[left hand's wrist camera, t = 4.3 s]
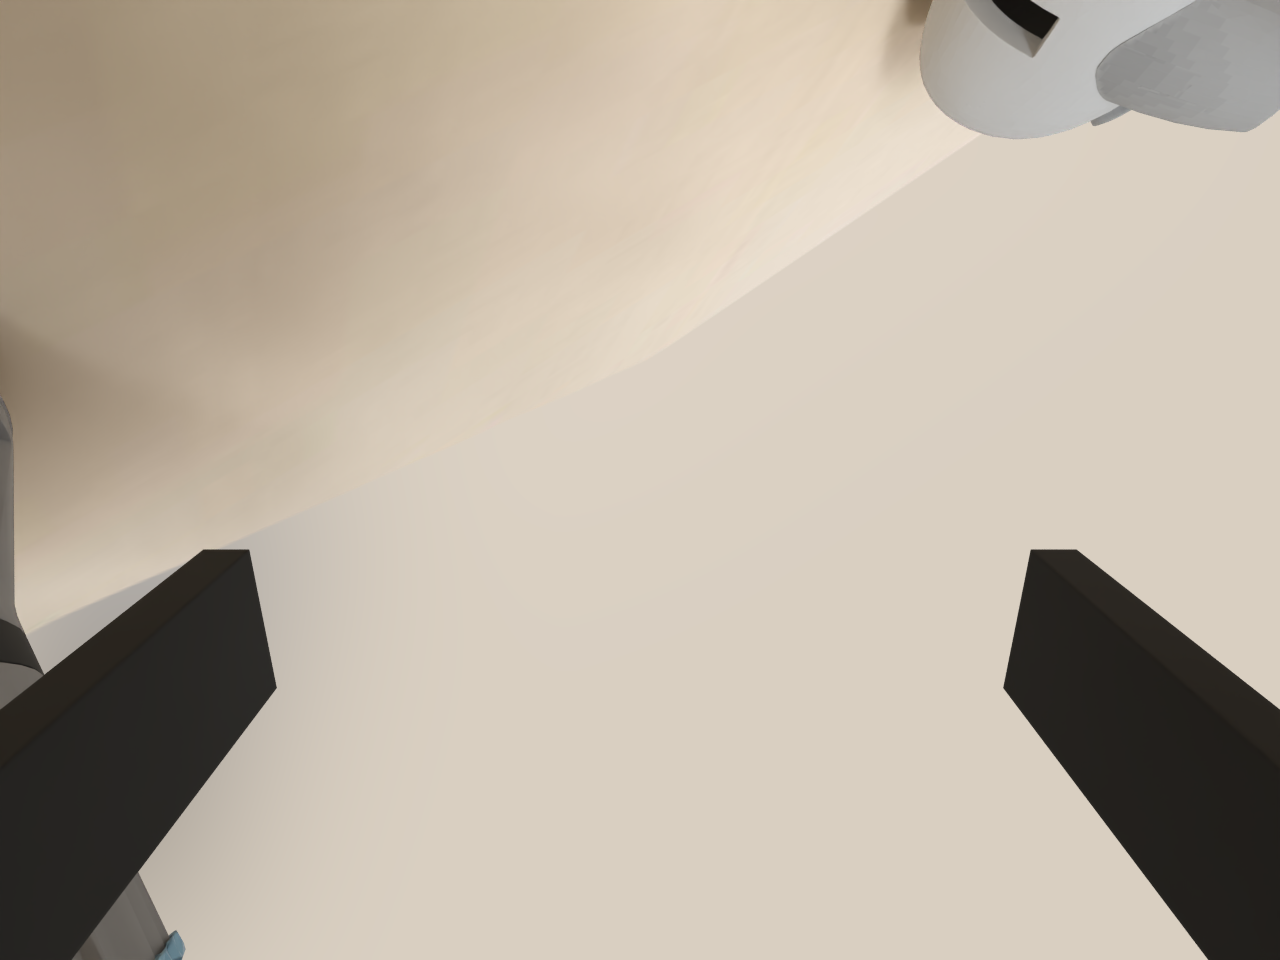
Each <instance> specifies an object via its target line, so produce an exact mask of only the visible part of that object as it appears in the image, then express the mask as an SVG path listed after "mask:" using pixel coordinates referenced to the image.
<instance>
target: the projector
mask: <svg viewBox="0 0 1280 960" xmlns="http://www.w3.org/2000/svg"><path fill="white" fill-rule="evenodd" d="M920 70H921V76H922V80H923V84H924V86H925V88H926V90H927V92H928V94H929V96H930V98H931V99H932V100H933V102H934V103H935V105H936V106H937V107H938V108H939V109H940V110H941V111H942V112H943V113H944V114H945V115H947V116H948V117H950V118H951V119H952V120H954V121H955V122H957V123H958V124H960V125H962V126H964V127H966V128H968V129H970V130H973V131H976V132H979V133H982V134H985V135H989V136H993V137H1001V138H1009V139H1028V138H1038V137H1044V136H1049V135H1053V134H1057V133H1060V132H1064V131H1067V130H1070V129H1073V128H1075V127H1078V126H1080V125H1083V124H1085V123H1087V122H1089V121H1091V123H1092V125H1093V126H1096V125H1100V124H1103V123H1105V122H1109V121H1111V120H1113V119H1115V118H1117V117H1119V116H1121V115H1123V114H1125V113H1127V112H1128V111H1130V110H1134V111H1136V112H1139V113H1143V114H1146V115H1150V116H1153V117H1157V118H1160V119H1164V120H1167V121H1171V122H1174V123H1179V124H1184V125H1190V126H1195V127H1200V128H1205V129H1214V130H1225V131H1237V132H1247V131H1250V130H1252V129H1254V128H1256V127H1257V126H1259V125H1260V124H1262V123H1263V122H1264V121H1266V120H1267V119H1268V118H1270V117H1271V116H1273V115H1274V114H1275V113H1276V112H1277V111H1278V110H1279V109H1280V0H932V3H931V6H930V9H929V12H928V15H927V18H926V21H925V25H924V29H923V34H922V40H921V47H920Z"/></svg>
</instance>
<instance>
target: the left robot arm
mask: <svg viewBox="0 0 1280 960" xmlns="http://www.w3.org/2000/svg"><path fill="white" fill-rule="evenodd" d="M12 435H13V428H12V423H11V418H10V415H9V412H8V410H7V408H6V405H5V403H4V401H3V399H2V397H1V395H0V960H182V957H183V954H184V952H185V946H184V943H183V941H182V939H181V937H180V936H179V934H178V932H177V931H174V932H173V933H171V934H170V935H169V936H168V934H167V932H166V929H165V927H164V925H163V923H162V921H161V919H160V917H159V915H158V913H157V911H156V908H155V906H154V904H153V902H152V900H151V898H150V896H149V894H148V892H147V890H146V888H145V886H144V884H143V881H142V879H141V877H140V875H139V873H138V871H139V870H140V869H141V867H142V866H143V865H144V863H145V862H146V861H147V859H148V858H149V857H150V855H151V854H152V853H153V851H154V850H155V849H156V847H157V846H158V845H159V843H160V842H161V841H162V839H163V838H164V837H165V835H166V834H167V833H168V831H169V830H170V829H171V827H172V826H173V825H174V823H175V822H176V821H177V819H178V818H179V817H180V816H181V814H182V813H183V812H184V810H185V809H186V808H187V806H188V805H189V803H190V802H191V801H192V800H193V798H194V797H195V796H196V794H197V793H198V792H199V790H200V789H201V788H202V786H203V785H204V784H205V782H206V781H207V780H208V778H209V777H210V776H211V774H212V773H213V772H214V770H215V769H216V768H217V766H218V765H219V764H220V762H221V761H222V760H223V759H224V757H225V756H226V755H227V753H228V752H229V751H230V749H231V748H232V746H233V745H234V744H235V743H236V741H237V740H238V739H239V737H240V736H241V735H242V733H243V732H244V731H245V729H246V728H247V727H248V725H249V724H250V723H251V721H252V720H253V719H254V717H255V716H256V715H257V713H258V712H259V711H260V709H261V708H262V707H263V705H264V704H265V703H266V701H267V700H268V699H269V697H270V696H271V695H272V694H273V692H274V691H275V689H276V688H277V687H276V682H275V677H274V672H273V667H272V662H271V657H270V652H269V647H268V642H267V637H266V632H265V627H264V622H263V617H262V612H261V607H260V602H259V597H258V592H257V587H256V582H255V577H254V571H253V566H252V561H251V557H250V551H249V550H202V551H201V552H200V553H199V554H197V555H196V556H195V557H193V558H192V559H191V560H190V561H188V562H187V563H186V564H185V565H183V566H182V567H181V568H180V569H178V570H177V571H176V572H174V573H173V574H172V575H171V576H169V577H168V578H167V579H166V580H164V581H163V582H162V583H160V584H159V585H158V586H157V587H155V588H154V589H153V590H152V591H150V592H149V593H148V594H146V595H145V596H144V597H143V598H141V599H140V600H139V601H138V602H136V603H135V604H134V605H132V606H131V607H130V608H129V609H127V610H126V611H125V612H124V613H122V614H121V615H120V616H119V617H117V618H116V619H115V620H113V621H112V622H111V623H110V624H108V625H107V626H106V627H104V628H103V629H102V630H101V631H99V632H98V633H97V634H96V635H94V636H93V637H92V638H91V639H89V640H88V641H87V642H85V643H84V644H83V645H82V646H80V647H79V648H78V649H77V650H75V651H74V652H73V653H71V654H70V655H69V656H68V657H66V658H65V659H64V660H63V661H61V662H60V663H59V664H57V665H56V666H55V667H54V668H52V669H51V670H50V671H49V672H47V673H46V674H45V675H44V673H43V671H42V669H41V667H40V665H39V663H38V661H37V659H36V656H35V654H34V652H33V650H32V648H31V646H30V644H29V642H28V639H27V638H26V635H25V633H24V630H23V628H22V626H21V624H20V621H19V619H18V617H17V613H16V609H15V605H14V472H13V439H12ZM1003 688H1004V690H1005V691H1006V692H1007V694H1008V695H1009V696H1010V698H1011V699H1012V700H1013V701H1014V703H1015V704H1016V705H1017V707H1018V708H1019V709H1020V711H1021V712H1022V713H1023V715H1024V716H1025V717H1026V719H1027V720H1028V721H1029V723H1030V724H1031V725H1032V727H1033V728H1034V729H1035V731H1036V732H1037V733H1038V735H1039V736H1040V737H1041V739H1042V740H1043V741H1044V743H1045V744H1046V745H1047V747H1048V748H1049V749H1050V751H1051V752H1052V753H1053V755H1054V756H1055V757H1056V759H1057V760H1058V761H1059V762H1060V764H1061V765H1062V766H1063V768H1064V769H1065V770H1066V772H1067V773H1068V774H1069V776H1070V777H1071V778H1072V780H1073V781H1074V782H1075V784H1076V785H1077V786H1078V788H1079V789H1080V790H1081V792H1082V793H1083V794H1084V796H1085V797H1086V798H1087V800H1088V801H1089V802H1090V804H1091V805H1092V806H1093V808H1094V809H1095V810H1096V812H1097V813H1098V814H1099V816H1100V817H1101V818H1102V819H1103V821H1104V822H1105V823H1106V825H1107V826H1108V827H1109V829H1110V830H1111V831H1112V833H1113V834H1114V835H1115V837H1116V838H1117V839H1118V841H1119V842H1120V843H1121V845H1122V846H1123V847H1124V849H1125V850H1126V851H1127V853H1128V854H1129V855H1130V857H1131V858H1132V859H1133V861H1134V862H1135V863H1136V865H1137V866H1138V867H1139V869H1140V870H1141V871H1142V873H1143V874H1144V875H1145V877H1146V878H1147V879H1148V880H1149V882H1150V883H1151V884H1152V886H1153V887H1154V888H1155V890H1156V891H1157V892H1158V894H1159V895H1160V896H1161V898H1162V899H1163V900H1164V902H1165V903H1166V904H1167V906H1168V907H1169V908H1170V910H1171V911H1172V912H1173V914H1174V915H1175V916H1176V918H1177V919H1178V920H1179V921H1180V923H1181V924H1182V926H1183V927H1184V928H1185V929H1186V931H1187V932H1188V933H1189V935H1190V936H1191V938H1192V939H1193V940H1194V941H1195V943H1196V944H1197V945H1198V947H1199V948H1200V949H1201V951H1202V952H1203V953H1204V955H1205V956H1206V957H1207V959H1208V960H1280V709H1278V708H1277V707H1276V706H1275V705H1273V704H1272V703H1271V702H1270V701H1268V700H1267V699H1266V698H1264V697H1263V696H1262V695H1261V694H1259V693H1258V692H1257V691H1256V690H1254V689H1253V688H1252V687H1251V686H1249V685H1248V684H1247V683H1245V682H1244V681H1243V680H1242V679H1240V678H1239V677H1238V676H1237V675H1235V674H1234V673H1233V672H1231V671H1230V670H1229V669H1228V668H1226V667H1225V666H1224V665H1223V664H1221V663H1220V662H1219V661H1217V660H1216V659H1215V658H1213V657H1212V656H1211V655H1210V654H1209V653H1207V652H1206V651H1205V650H1203V649H1202V648H1201V647H1200V646H1198V645H1197V644H1196V643H1194V642H1193V641H1192V640H1191V639H1189V638H1188V637H1187V636H1186V635H1184V634H1183V633H1182V632H1181V631H1179V630H1178V629H1177V628H1176V627H1174V626H1173V625H1172V624H1170V623H1169V622H1168V621H1167V620H1165V619H1164V618H1163V617H1162V616H1160V615H1159V614H1158V613H1156V612H1155V611H1154V610H1153V609H1151V608H1150V607H1149V606H1148V605H1146V604H1145V603H1144V602H1142V601H1141V600H1140V599H1139V598H1137V597H1136V596H1135V595H1134V594H1132V593H1131V592H1130V591H1128V590H1127V589H1126V588H1125V587H1123V586H1122V585H1121V584H1119V583H1118V582H1117V581H1116V580H1114V579H1113V578H1112V577H1111V576H1109V575H1108V574H1107V573H1106V572H1104V571H1103V570H1102V569H1100V568H1099V567H1098V566H1097V565H1095V564H1094V563H1093V562H1092V561H1090V560H1089V559H1088V558H1087V557H1085V556H1084V555H1083V554H1081V553H1080V552H1079V551H1078V550H1031V551H1030V556H1029V562H1028V567H1027V572H1026V577H1025V582H1024V587H1023V592H1022V597H1021V602H1020V607H1019V612H1018V617H1017V622H1016V627H1015V632H1014V637H1013V642H1012V647H1011V652H1010V657H1009V662H1008V667H1007V672H1006V677H1005V682H1004V687H1003Z"/></svg>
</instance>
